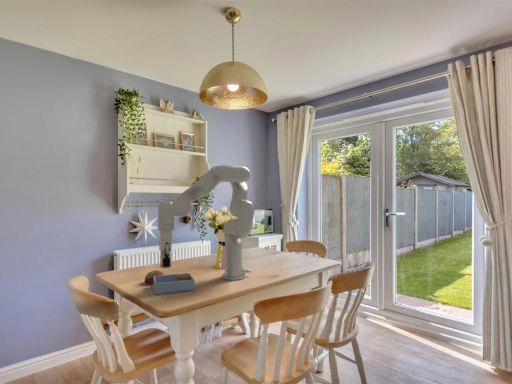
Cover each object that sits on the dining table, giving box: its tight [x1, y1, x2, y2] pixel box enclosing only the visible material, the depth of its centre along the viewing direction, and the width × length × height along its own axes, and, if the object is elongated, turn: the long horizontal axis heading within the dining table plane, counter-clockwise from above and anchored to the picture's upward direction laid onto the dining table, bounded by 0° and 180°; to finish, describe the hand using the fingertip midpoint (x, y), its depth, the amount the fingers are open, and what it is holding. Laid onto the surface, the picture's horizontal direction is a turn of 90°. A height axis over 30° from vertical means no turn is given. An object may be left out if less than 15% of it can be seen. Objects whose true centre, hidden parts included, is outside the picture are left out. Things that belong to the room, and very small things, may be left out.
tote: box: [152, 272, 196, 296], centre depth 146 cm, size 18×14×5 cm
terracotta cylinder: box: [159, 251, 172, 269], centre depth 145 cm, size 5×5×7 cm
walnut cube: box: [177, 273, 189, 281], centre depth 148 cm, size 5×5×5 cm
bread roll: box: [144, 269, 165, 286], centre depth 156 cm, size 10×10×8 cm
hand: (165, 264), depth 145 cm, fingers closed on terracotta cylinder, 5 cm apart
